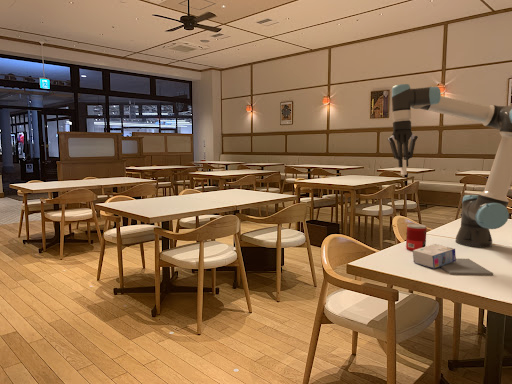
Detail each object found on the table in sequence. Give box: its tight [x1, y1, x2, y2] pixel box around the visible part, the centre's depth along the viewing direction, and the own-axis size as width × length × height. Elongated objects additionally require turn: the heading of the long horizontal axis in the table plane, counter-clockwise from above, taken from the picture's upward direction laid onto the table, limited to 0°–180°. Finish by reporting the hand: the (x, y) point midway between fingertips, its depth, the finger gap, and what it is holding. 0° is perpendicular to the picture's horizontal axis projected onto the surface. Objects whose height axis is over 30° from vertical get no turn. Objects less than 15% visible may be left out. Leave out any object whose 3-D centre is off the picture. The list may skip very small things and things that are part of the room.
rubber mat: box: [439, 258, 494, 276], centre depth 149 cm, size 15×18×1 cm
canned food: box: [405, 223, 428, 252], centre depth 174 cm, size 8×8×11 cm
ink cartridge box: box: [412, 243, 457, 270], centre depth 153 cm, size 10×6×14 cm
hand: (403, 174), depth 174 cm, fingers closed
